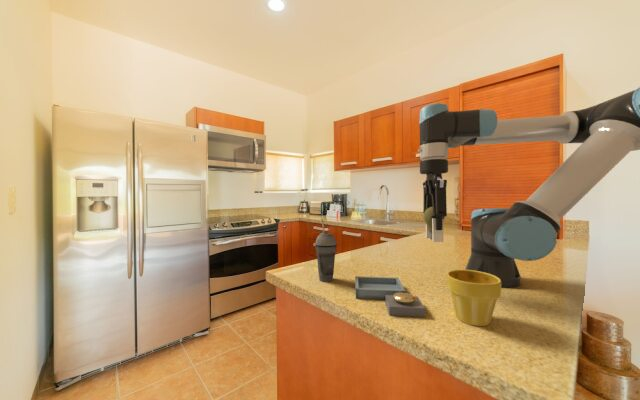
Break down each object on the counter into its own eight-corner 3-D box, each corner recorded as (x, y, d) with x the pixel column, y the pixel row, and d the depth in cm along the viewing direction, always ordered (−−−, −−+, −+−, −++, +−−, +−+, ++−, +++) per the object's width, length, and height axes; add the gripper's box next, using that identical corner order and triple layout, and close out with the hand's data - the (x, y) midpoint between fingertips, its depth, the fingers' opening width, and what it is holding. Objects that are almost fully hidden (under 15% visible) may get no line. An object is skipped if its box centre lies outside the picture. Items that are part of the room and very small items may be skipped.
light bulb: (448, 242, 72) (448, 206, 71) (428, 242, 72) (428, 207, 71) (439, 239, 77) (439, 206, 77) (420, 239, 77) (420, 206, 77)
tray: (398, 285, 78) (398, 277, 78) (405, 300, 67) (405, 291, 67) (355, 284, 80) (355, 276, 80) (355, 298, 69) (355, 289, 69)
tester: (417, 304, 65) (417, 293, 65) (425, 317, 58) (425, 305, 58) (385, 302, 66) (385, 292, 66) (389, 315, 59) (389, 303, 59)
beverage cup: (335, 283, 80) (335, 220, 80) (312, 282, 82) (312, 220, 81) (338, 276, 87) (338, 218, 87) (317, 275, 89) (317, 218, 88)
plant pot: (479, 336, 50) (479, 286, 50) (436, 314, 60) (436, 272, 60) (512, 325, 54) (512, 279, 54) (466, 306, 64) (467, 267, 64)
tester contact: (412, 295, 64) (412, 292, 64) (417, 303, 59) (417, 301, 59) (391, 294, 65) (391, 292, 65) (395, 302, 60) (395, 300, 60)
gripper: (412, 164, 84) (413, 234, 84) (429, 155, 65) (430, 245, 66) (436, 163, 83) (437, 234, 83) (461, 154, 64) (461, 246, 65)
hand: (434, 239), depth 74 cm, fingers closed on light bulb, 6 cm apart
